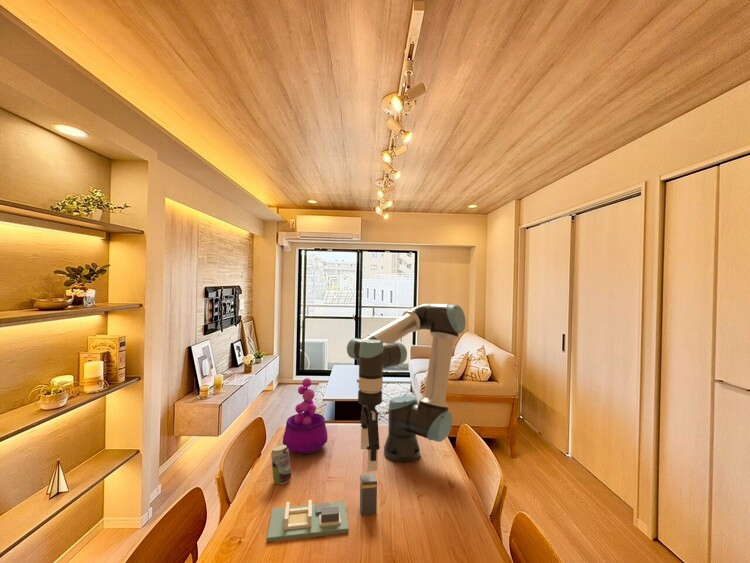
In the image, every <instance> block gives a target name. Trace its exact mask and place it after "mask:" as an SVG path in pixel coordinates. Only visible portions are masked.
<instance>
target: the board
mask: <svg viewBox="0 0 750 563" xmlns="http://www.w3.org/2000/svg"><path fill="white" fill-rule="evenodd" d="M312 502H313V499H308V503H307V504H305V505H296V506H295V505H294V506H291V501H286V503H285V506H284V507H275V508H271V515H270V518H269V523H268V524H269V526H268V530H267V537H266V543H273V542H281V541H288V540H289V541H290V540H297V539H298V540H299V539H307V538H315V537H323V536H331V535H332V536H333V535H340V534H349V529H350V528H349V523H348V517H347V511H346V502H345V501H335V502H328V501H327V502H321V503H319V502H318V503H312Z"/></svg>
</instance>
